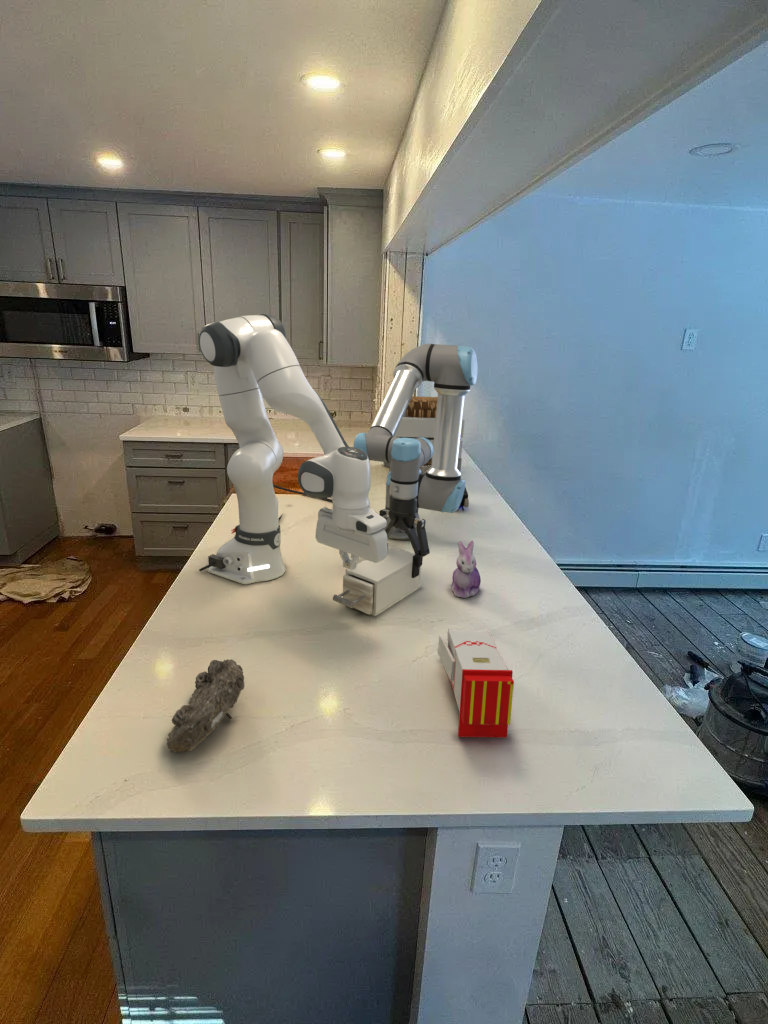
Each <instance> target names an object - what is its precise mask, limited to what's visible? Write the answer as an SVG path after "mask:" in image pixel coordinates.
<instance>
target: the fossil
mask: <svg viewBox="0 0 768 1024" xmlns="http://www.w3.org/2000/svg"><path fill="white" fill-rule="evenodd" d="M243 670H244V669H243V667H242V665H240V664H237V662H236V661H235V660H234V659H232V658H231V659H227V658H226V659H224V660H223V661H222V660H217V659H212V660H211V661H210V663H209V665H208V666H207V671H201V672H199V673H198V674H197V675H196V676H195V680H194V684H195V685H194V687H195V689H194V690H193V693H192V694H191V697H190V698H189V700H188V704H184V705H182V706H181V707H180V709H177V710H176V711H175V713H174V715H173V716H172V718H171V723H172V724H173V727H172V730H171V731H170V732H168V734H167V738H166V741H167V742H166V745H167V749H168V750H169V751H173V752H174V753H176V754H178V753H182V752H188V751H189V752H192V751H193V750H195V748H196V747H197V746H199V744H200V743H201V742H203V741H204V740H205V739H206V738H207V737H208V736H209V735H210V734H211V733H212V732H214V730H215V729H217V727H218V726H219V724H220V722H221V721H222V720H223V719H224V718H225V716H226V717H227V719H229V720H233V717H232V715H230V714H229V710H230V709H231V708H234V706H235V704H236V703H237V702H238V699H239V697H240V695H241V693H242V691H243V690H245V689H244V688H245V675H244V671H243Z"/></svg>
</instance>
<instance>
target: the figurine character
mask: <svg viewBox="0 0 768 1024" xmlns="http://www.w3.org/2000/svg"><path fill="white" fill-rule="evenodd" d="M469 505H470V500H469V492H468V490H467V488H466V486H465V490H464V494H463V498H462V501H461V503H460V506H459V508H458V509H461V511H462V512H464V511H465V508H469ZM458 509H457V510H456V511H455V512H457V511H458Z"/></svg>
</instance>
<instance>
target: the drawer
mask: <svg viewBox="0 0 768 1024" xmlns="http://www.w3.org/2000/svg"><path fill="white" fill-rule="evenodd" d="M332 601H334V602H336V603H338V604H341V605H343V606H345V607H348V608H351V609H355V610H357V611H360V612H362V613H364V614H366V615H369V616H371V615H372V613H373V605H374V583H372V582H369V581H367V580H364V579H361V578H359V577H356V576H354V575H352V577H351V576H349V575H346V574H344V575H343V576H342V592H341V593H339V594H334V595H333V596H332Z"/></svg>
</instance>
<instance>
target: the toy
mask: <svg viewBox="0 0 768 1024" xmlns="http://www.w3.org/2000/svg"><path fill="white" fill-rule="evenodd" d="M446 640H447V643H446V641H445V639H444V636H443V635H442V634H439V637H438V646H437V656H438V657H439V659H440V661H441V663H442V666H443V668H444V670H445V672H446V674H447V677H448V679H449V681H450V684H451V687H452V690H453V693H454V697H455V701H456V705H457V708H458V711H459V714H458V715H459V716H458V730H457V731H458V732H457V737H458V738H508V731H509V726H510V725H511V717H512V707H513V697H514V696H513V695H514V684H515V680H514V679H513V673H514V671H513V670H512V669H508V667H507V665H506V662H505V661H504V659H503V658H502V655H501V653H500V651H499V649H498V647H497V643H496V639H495V637H494V635H493V634H491V632H490V631H489V629H467V628H466V629H465V628H463V629H461V628H460V629H459V628H448V630H447V639H446Z"/></svg>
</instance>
